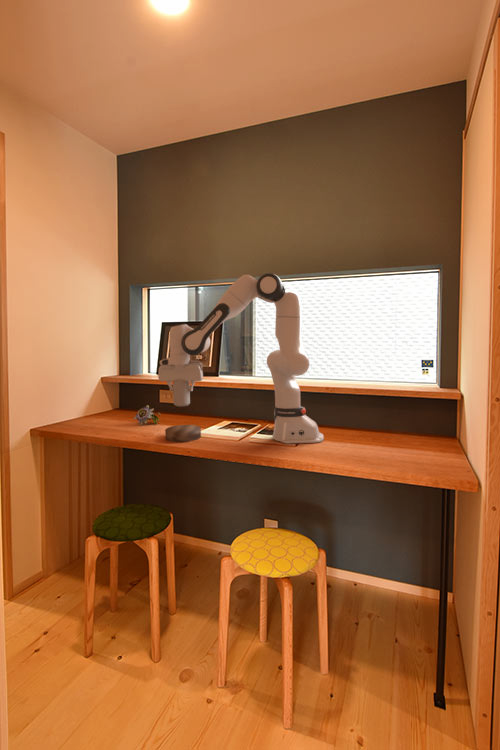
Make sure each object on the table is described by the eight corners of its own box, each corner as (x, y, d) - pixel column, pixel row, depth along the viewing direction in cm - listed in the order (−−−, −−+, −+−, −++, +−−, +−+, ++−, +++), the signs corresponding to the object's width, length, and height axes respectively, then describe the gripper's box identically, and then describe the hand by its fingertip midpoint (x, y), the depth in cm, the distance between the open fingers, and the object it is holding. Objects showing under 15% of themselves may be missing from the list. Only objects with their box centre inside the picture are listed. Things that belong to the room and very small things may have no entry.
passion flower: (142, 435, 213) (128, 417, 213) (153, 426, 223) (139, 409, 223) (156, 424, 209) (141, 406, 208) (166, 416, 219) (152, 399, 218)
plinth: (205, 433, 192) (204, 424, 192) (194, 442, 176) (194, 433, 176) (173, 432, 195) (172, 424, 194) (160, 441, 179) (159, 433, 179)
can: (185, 407, 179) (185, 380, 178) (170, 406, 182) (169, 380, 180) (192, 404, 187) (192, 378, 185) (178, 403, 189) (177, 378, 188)
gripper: (204, 359, 183) (205, 390, 185) (161, 360, 187) (163, 389, 188) (200, 360, 177) (201, 392, 179) (156, 361, 181) (157, 391, 182)
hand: (181, 391), depth 183 cm, fingers closed on can, 7 cm apart
